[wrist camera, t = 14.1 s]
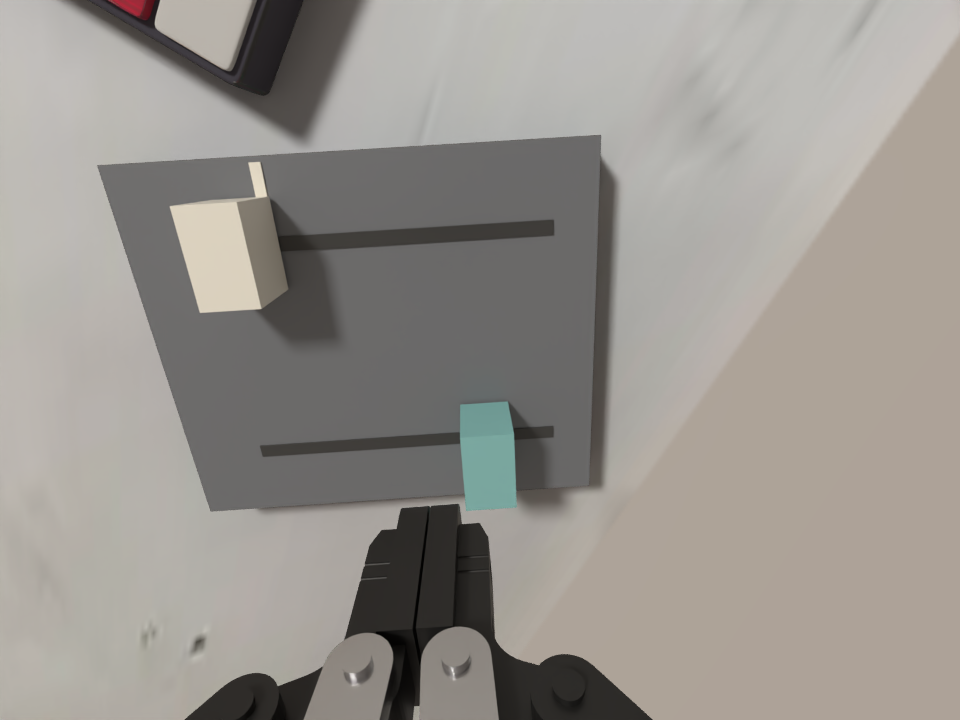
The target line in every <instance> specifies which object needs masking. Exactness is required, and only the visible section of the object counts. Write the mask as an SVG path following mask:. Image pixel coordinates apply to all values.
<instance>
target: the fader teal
mask: <svg viewBox="0 0 960 720" xmlns="http://www.w3.org/2000/svg"><path fill="white" fill-rule="evenodd" d="M460 444H461V456H462V468H463V480H464V492H465V504H466V511H471V510H485V509H500V508H514V507H517V504H516V476H515V447H514V431H513V426H512V421H511V416H510V411H509V405H508V401H507V402H492V403H477V404H462V405H460Z"/></svg>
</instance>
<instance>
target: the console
mask: <svg viewBox="0 0 960 720" xmlns="http://www.w3.org/2000/svg"><path fill="white" fill-rule="evenodd" d="M600 153H601V135H591V136H575V137H558V138H542V139H525V140H509V141H492V142H476V143H459V144H442V145H426V146H409V147H393V148H376V149H360V150H343V151H327V152H310V153H294V154H277V155H261V156H244V157H227V158H211V159H194V160H178V161H161V162H145V163H128V164H112V165H97V166H98V169H99V172H100V175H101V179H102V182H103V185H104V188H105V191H106V194H107V197H108V200H109V203H110V206H111V209H112V212H113V215H114V218H115V221H116V224H117V227H118V230H119V233H120V236H121V240H122V243H123V246H124V249H125V252H126V255H127V258H128V261H129V264H130V267H131V270H132V273H133V276H134V279H135V282H136V285H137V288H138V291H139V294H140V297H141V300H142V304H143V307H144V310H145V313H146V316H147V319H148V322H149V325H150V328H151V331H152V334H153V337H154V340H155V343H156V346H157V349H158V352H159V355H160V358H161V361H162V365H163V368H164V371H165V374H166V377H167V380H168V383H169V386H170V389H171V392H172V395H173V398H174V401H175V404H176V407H177V410H178V413H179V416H180V419H181V422H182V425H183V429H184V432H185V435H186V438H187V441H188V444H189V447H190V450H191V453H192V456H193V459H194V462H195V465H196V468H197V471H198V474H199V477H200V480H201V483H202V486H203V490H204V493H205V496H206V499H207V502H208V505H209V508H210V511H225V510H239V509H254V508H268V507H283V506H298V505H312V504H327V503H342V502H356V501H371V500H385V499H400V498H415V497H429V496H444V495H458V494H465V492H464V480H463V468H462V456H461V444H460V405H462V404H477V403H492V402H507V401H508V405H509V411H510V416H511V421H512V426H513V431H514V447H515V476H516V491H517V490H531V489H546V488H561V487H575V486H589V476H590V447H591V418H592V388H593V359H594V330H595V300H596V271H597V241H598V212H599V183H600ZM252 197H269V199H270V203H271V208H272V213H273V218H274V223H275V227H276V232H277V237H278V242H279V246H280V251H281V256H282V261H283V266H284V270H285V275H286V280H287V285H288V290H287V291H286V292H284V293H283V294H281V295H280V296H279V297H277V298H276V299H275V300H273V301H272V302H270V303H269V304H268V305H266V306H265V307H264V308H262V309H254V310H238V311H223V312H207V313H200V312H199V308H198V305H197V301H196V297H195V294H194V290H193V287H192V283H191V280H190V276H189V273H188V269H187V266H186V262H185V259H184V255H183V252H182V248H181V245H180V241H179V238H178V234H177V231H176V227H175V224H174V220H173V217H172V213H171V210H170V206H174V205H181V204H188V203H195V202H201V201H208V200H220V199H236V198H252Z"/></svg>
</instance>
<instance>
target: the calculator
mask: <svg viewBox="0 0 960 720" xmlns="http://www.w3.org/2000/svg"><path fill="white" fill-rule="evenodd" d="M89 1H91V2H92V3H94V4H96V5H97V6H99V7H101V8H102V9H104V10H106V11H107V12H109V13H111V14H112V15H114V16H116V17H118V18H119V19H121V20H123V21H124V22H126V23H128V24H129V25H131V26H133V27H134V28H136V29H138V30H139V31H141V32H143V33H145V34H146V35H148V36H150V37H151V38H153V39H155V40H156V41H158V42H160V43H161V44H163V45H165V46H166V47H168V48H170V49H172V50H173V51H175V52H177V53H178V54H180V55H182V56H183V57H185V58H187V59H188V60H190V61H192V62H194V63H195V64H197V65H199V66H200V67H202V68H204V69H205V70H207V71H209V72H210V73H212V74H214V75H215V76H217V77H219V78H221V79H222V80H224V81H226V82H227V83H229V84H231V85H234V86H236V87H239V88H242V89H245V90H247V91H250V92H253V93H256V94H259V95H263V96H264V95H267V94H268V93H269V91H270V89H271V87H272V84H273V81H274V79H275V76H276V73H277V71H278V68H279V65H280V62H281V60H282V57H283V54H284V52H285V49H286V46H287V44H288V41H289V38H290V35H291V33H292V30H293V27H294V25H295V22H296V19H297V17H298V14H299V11H300V8H301V6H302V3H303V0H89Z"/></svg>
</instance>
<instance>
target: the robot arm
mask: <svg viewBox="0 0 960 720" xmlns="http://www.w3.org/2000/svg"><path fill="white" fill-rule="evenodd" d="M414 706H420V715H419V720H652V719H651V718H650V717H649V716H648V715H647V714H646V713H644V711H643V710H641V709H640V708H639V707H638V706H637V705H636V704H635V703H634V702H632V700H630V699H629V698H628V697H627V696H626V695H625V694H624V693H623V692H622V691H620V690H619V689H618V688H617V687H616V686H615V685H614V684H613V683H612V682H611V681H609V680H608V679H607V678H606V677H605V676H604V675H603V674H602V673H601V672H600V671H598V670H597V669H596V668H595V667H594V666H593V665H591V664H590V663H589V662H588V661H586V660H584V659H583V658H580V657H577V656H574V655H568V654H561V655H555V656H552V657H550V658H548V659H546V660H544V661H543V662H542V663H541V664H540V665H535V664H532V663H528V662H524V661H521V660H518V659H516V658H514V657H512V656H510V655H509V654H507V653H506V652H505V651H504V650H503V649H502V648H501V647H500V646H499V645H498V643H497V642H496V640H495V630H494V607H493V585H492V572H491V562H490V551H489V541H488V536H487V535H486V533H485V531H484V530H483V528H482V526H481V525H480V523H474V524H462V522H461V513H460V506H459V504H451V505H437V506H431V508H430V506H425V507H411V508H402V509H401V511H400V515H399V520H398V525H397V529H392V530H381V532H380V533H379V534H378V536H377V537H376V538H375V539H374V541H373V542H372V543H371V545H370V546H369V550H368V554H367V557H366V561H365V567H364V569H363V572H362V576H361V581H360V584H359V587H358V591H357V595H356V599H355V602H354V606H353V610H352V614H351V618H350V621H349V625H348V629H347V633H346V636H345V639H344V641H342V642H341V643H340V644H338V645H337V646H336V647H335V648H334V649H333V650H332V652H331V653H330V654H329V656H328V657H327V659H326V661H325V663H324V666H323V667H321V668H320V669H318V670H317V671H315V672H313V673H311V674H309V675H306V676H304V677H301V678H299V679H296V680H293V681H291V682H288V683H286V684H283V685H280V686H277V684H276V682H275V681H274V679H273V678H271V677H270V676H268V675H266V674H261V673H252V674H247V675H244V676H241V677H239V678H236V679H234V680H233V681H231V682H229V683H228V684H226V685H225V686H224V687H222V688H221V689H220V690H219V691H218V692H216V693H215V694H214V695H213V696H212V697H211V698H209V699H208V700H207V701H206V702H205V703H204V704H202V705H201V706H200V707H199V708H198V709H197V710H195V711H194V712H193V713H192V714H191V715H189V716H188V717H187V718H186V719H185V720H413V712H414Z"/></svg>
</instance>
